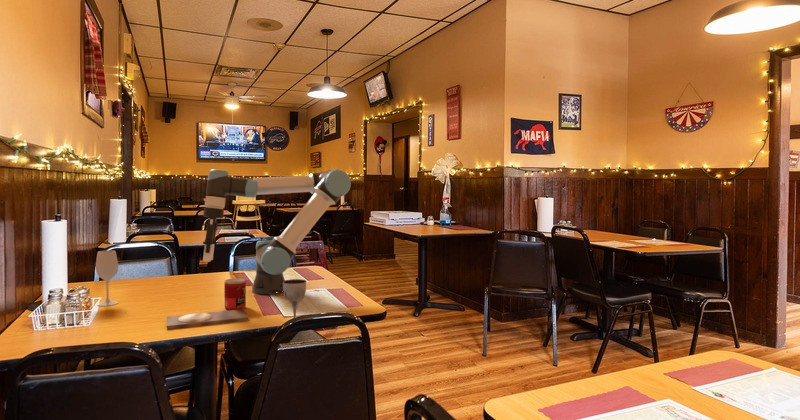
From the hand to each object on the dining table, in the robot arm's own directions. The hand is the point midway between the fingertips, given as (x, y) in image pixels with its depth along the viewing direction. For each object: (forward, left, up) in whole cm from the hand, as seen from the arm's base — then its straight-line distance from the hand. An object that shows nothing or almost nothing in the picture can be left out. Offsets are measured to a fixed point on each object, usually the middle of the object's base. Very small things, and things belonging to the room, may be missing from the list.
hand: (207, 260), depth 190 cm
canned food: (-9, +10, -18) cm, 22 cm away
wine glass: (-25, +40, -18) cm, 51 cm away
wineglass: (+36, -16, -18) cm, 43 cm away
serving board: (+2, +24, -18) cm, 30 cm away
